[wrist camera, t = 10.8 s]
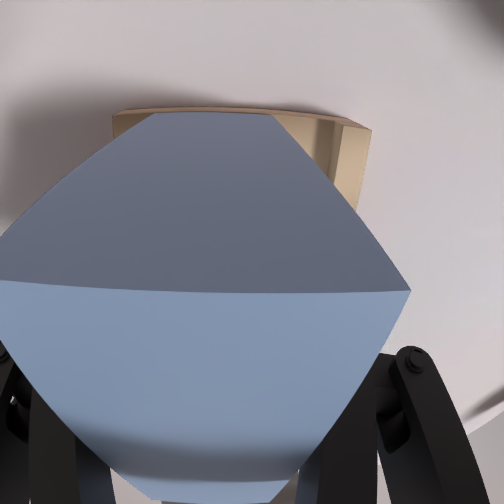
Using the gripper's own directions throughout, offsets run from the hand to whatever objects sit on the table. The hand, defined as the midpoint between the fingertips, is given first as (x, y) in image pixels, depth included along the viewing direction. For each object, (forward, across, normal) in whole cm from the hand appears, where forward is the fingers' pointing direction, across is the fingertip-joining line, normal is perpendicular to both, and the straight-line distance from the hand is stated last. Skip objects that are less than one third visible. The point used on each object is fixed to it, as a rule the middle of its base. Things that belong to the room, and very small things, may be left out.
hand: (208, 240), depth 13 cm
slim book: (0, 0, 0) cm, 0 cm away
